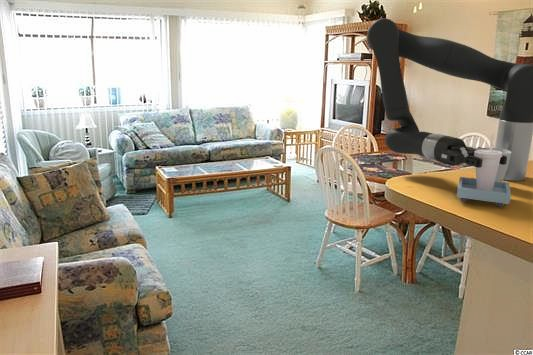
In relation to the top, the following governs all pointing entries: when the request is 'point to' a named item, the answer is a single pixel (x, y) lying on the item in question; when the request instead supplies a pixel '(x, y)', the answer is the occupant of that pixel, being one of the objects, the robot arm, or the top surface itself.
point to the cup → (501, 168)
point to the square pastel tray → (483, 192)
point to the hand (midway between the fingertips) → (493, 162)
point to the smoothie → (487, 167)
